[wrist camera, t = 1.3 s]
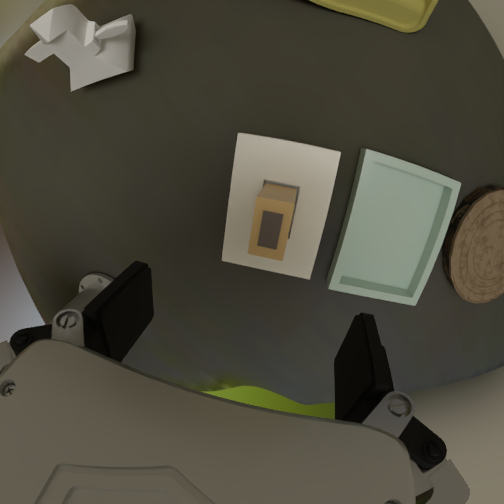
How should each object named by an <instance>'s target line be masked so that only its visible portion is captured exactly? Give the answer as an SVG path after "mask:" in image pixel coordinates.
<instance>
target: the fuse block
mask: <svg viewBox="0 0 504 504" xmlns="http://www.w3.org/2000/svg"><path fill="white" fill-rule="evenodd" d="M340 154H341V152H339V151H337V150H332V149H328V148H324V147H320V146H315V145H310V144H306V143H301V142H296V141H291V140H285V139H280V138H274V137H268V136H262V135H255V134H249V133H238V137H237V143H236V150H235V158H234V165H233V172H232V180H231V187H230V195H229V203H228V211H227V219H226V227H225V236H224V244H223V253H222V261H226V262H230V263H235V264H239V265H244V266H249V267H253V268H258V269H262V270H267V271H272V272H276V273H281V274H286V275H290V276H295V277H300V278H305V279H310V276H311V273H312V269H313V266H314V262H315V259H316V255H317V251H318V247H319V244H320V240H321V236H322V232H323V228H324V224H325V220H326V216H327V212H328V208H329V204H330V200H331V196H332V191H333V187H334V182H335V178H336V173H337V169H338V164H339V159H340ZM266 183H270V184H271V183H274V184H280V185H285V186H290V187H294V188H295V189H296V199H295V206H294V211H293V216H292V220H291V225H290V230H289V235H288V239H287V244H286V248H285V253H284V257H283V261H279V260H274V259H270V258H265V257H260V256H256V255H251V254H248V248H249V241H250V235H251V229H252V223H253V216H254V210H255V204H256V197H257V195H258V194H259V192H260V191H261V190H262V188H263V187H264V185H265V184H266Z"/></svg>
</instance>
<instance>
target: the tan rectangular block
mask: <svg viewBox="0 0 504 504" xmlns="http://www.w3.org/2000/svg"><path fill="white" fill-rule="evenodd" d="M295 199H296V189H295V188H294V187H290V186H285V185H280V184H274V183H271V184H270V183H266V184H265V185H264V187H263V188H262V190H261V191H260V192H259V194H258V195H257V197H256V204H255V210H254V216H253V223H252V229H251V235H250V241H249V248H248V254H251V255H256V256H260V257H265V258H270V259H274V260H279V261H283V257H284V253H285V248H286V244H287V239H288V235H289V230H290V225H291V220H292V216H293V211H294V206H295Z"/></svg>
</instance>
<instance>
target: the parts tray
mask: <svg viewBox="0 0 504 504" xmlns="http://www.w3.org/2000/svg"><path fill="white" fill-rule="evenodd" d="M460 186H461V183H460V182H458V181H455V180H453V179H451V178H448V177H446V176H443V175H441V174H438V173H436V172H433V171H431V170H428V169H426V168H423V167H420V166H418V165H415V164H412V163H409V162H406V161H403V160H400V159H397V158H394V157H391V156H388V155H385V154H382V153H379V152H375V151H372V150H368V149H365V148H361V151H360V155H359V160H358V165H357V169H356V174H355V178H354V182H353V186H352V191H351V195H350V199H349V203H348V207H347V211H346V214H345V218H344V222H343V226H342V229H341V233H340V236H339V240H338V243H337V247H336V250H335V254H334V257H333V260H332V264H331V267H330V270H329V273H328V276H327V283H328V289H331V290H336V291H341V292H346V293H351V294H356V295H361V296H366V297H371V298H376V299H382V300H387V301H392V302H398V303H403V304H409V305H414V306H415V305H416V303H417V301H418V299H419V297H420V295H421V293H422V291H423V289H424V286H425V284H426V282H427V280H428V277H429V275H430V273H431V271H432V268H433V266H434V263H435V261H436V258H437V256H438V253H439V251H440V248H441V246H442V243H443V240H444V237H445V235H446V232H447V229H448V226H449V223H450V220H451V217H452V214H453V211H454V207H455V204H456V200H457V197H458V193H459V190H460Z"/></svg>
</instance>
